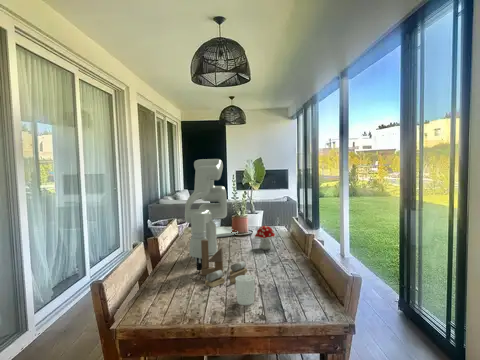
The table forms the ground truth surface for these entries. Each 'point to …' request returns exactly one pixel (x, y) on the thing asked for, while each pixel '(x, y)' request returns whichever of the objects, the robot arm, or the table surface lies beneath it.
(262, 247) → the decorative mushroom
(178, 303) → the table surface
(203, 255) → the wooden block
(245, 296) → the white cup
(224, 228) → the square plate
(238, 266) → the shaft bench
